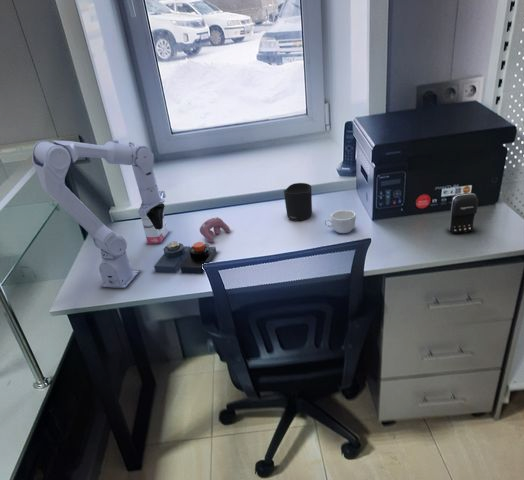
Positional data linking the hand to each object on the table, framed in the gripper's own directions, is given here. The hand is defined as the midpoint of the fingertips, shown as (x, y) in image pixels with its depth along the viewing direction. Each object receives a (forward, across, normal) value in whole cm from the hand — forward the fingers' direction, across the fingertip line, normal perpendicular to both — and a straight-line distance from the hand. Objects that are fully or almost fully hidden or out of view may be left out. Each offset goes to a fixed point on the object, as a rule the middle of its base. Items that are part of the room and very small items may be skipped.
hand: (159, 228), depth 158 cm
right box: (+10, -3, -13) cm, 17 cm away
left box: (+10, -3, -4) cm, 11 cm away
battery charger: (+10, +21, -91) cm, 94 cm away
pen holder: (+10, +31, -38) cm, 50 cm away
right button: (+6, -1, -13) cm, 15 cm away
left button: (+6, -1, -4) cm, 8 cm away
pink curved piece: (+10, +15, -12) cm, 22 cm away
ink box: (+10, +13, +9) cm, 19 cm away
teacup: (+10, +20, -54) cm, 58 cm away
